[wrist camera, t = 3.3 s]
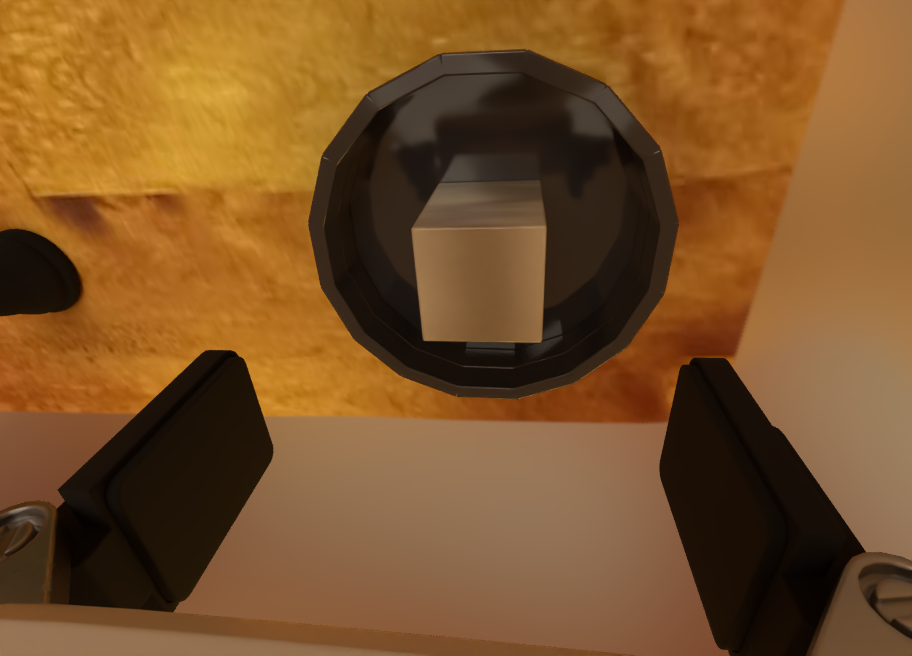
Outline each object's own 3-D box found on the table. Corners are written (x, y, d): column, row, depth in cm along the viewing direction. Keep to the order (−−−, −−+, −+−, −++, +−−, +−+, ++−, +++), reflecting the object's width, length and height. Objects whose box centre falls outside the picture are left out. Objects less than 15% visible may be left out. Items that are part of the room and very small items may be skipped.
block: (540, 179, 18) (546, 225, 14) (537, 274, 20) (542, 343, 16) (438, 182, 19) (410, 227, 14) (445, 275, 21) (422, 341, 16)
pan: (316, 58, 18) (273, 60, 15) (680, 41, 16) (717, 40, 13) (364, 349, 24) (341, 392, 21) (626, 358, 22) (642, 405, 19)
